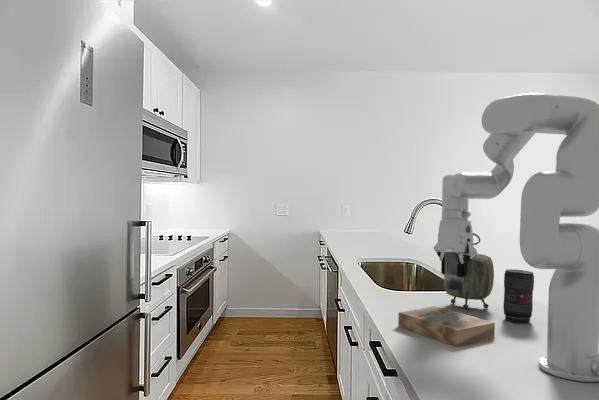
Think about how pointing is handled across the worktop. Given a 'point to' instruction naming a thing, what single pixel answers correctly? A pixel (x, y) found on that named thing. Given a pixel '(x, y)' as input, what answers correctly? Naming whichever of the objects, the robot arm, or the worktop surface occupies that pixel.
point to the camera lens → (518, 295)
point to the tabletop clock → (476, 280)
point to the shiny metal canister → (452, 271)
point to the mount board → (447, 325)
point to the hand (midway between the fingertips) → (454, 274)
